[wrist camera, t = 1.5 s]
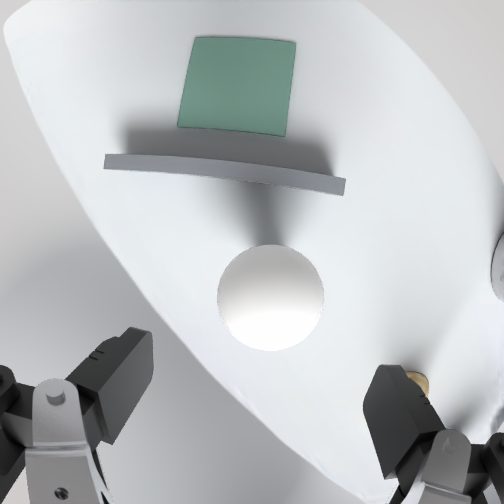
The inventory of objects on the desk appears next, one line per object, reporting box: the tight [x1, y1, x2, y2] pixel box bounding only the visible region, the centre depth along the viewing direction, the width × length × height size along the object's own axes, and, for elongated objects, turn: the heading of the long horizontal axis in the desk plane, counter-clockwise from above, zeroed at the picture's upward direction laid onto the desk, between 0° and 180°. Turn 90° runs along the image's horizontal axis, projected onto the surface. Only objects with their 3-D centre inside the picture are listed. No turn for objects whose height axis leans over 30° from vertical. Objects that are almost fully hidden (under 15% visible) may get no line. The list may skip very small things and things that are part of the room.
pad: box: [177, 37, 296, 137], centre depth 21 cm, size 9×9×1 cm
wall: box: [104, 154, 346, 196], centre depth 21 cm, size 18×1×4 cm, turn 82°
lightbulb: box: [217, 244, 324, 350], centre depth 19 cm, size 6×6×11 cm
